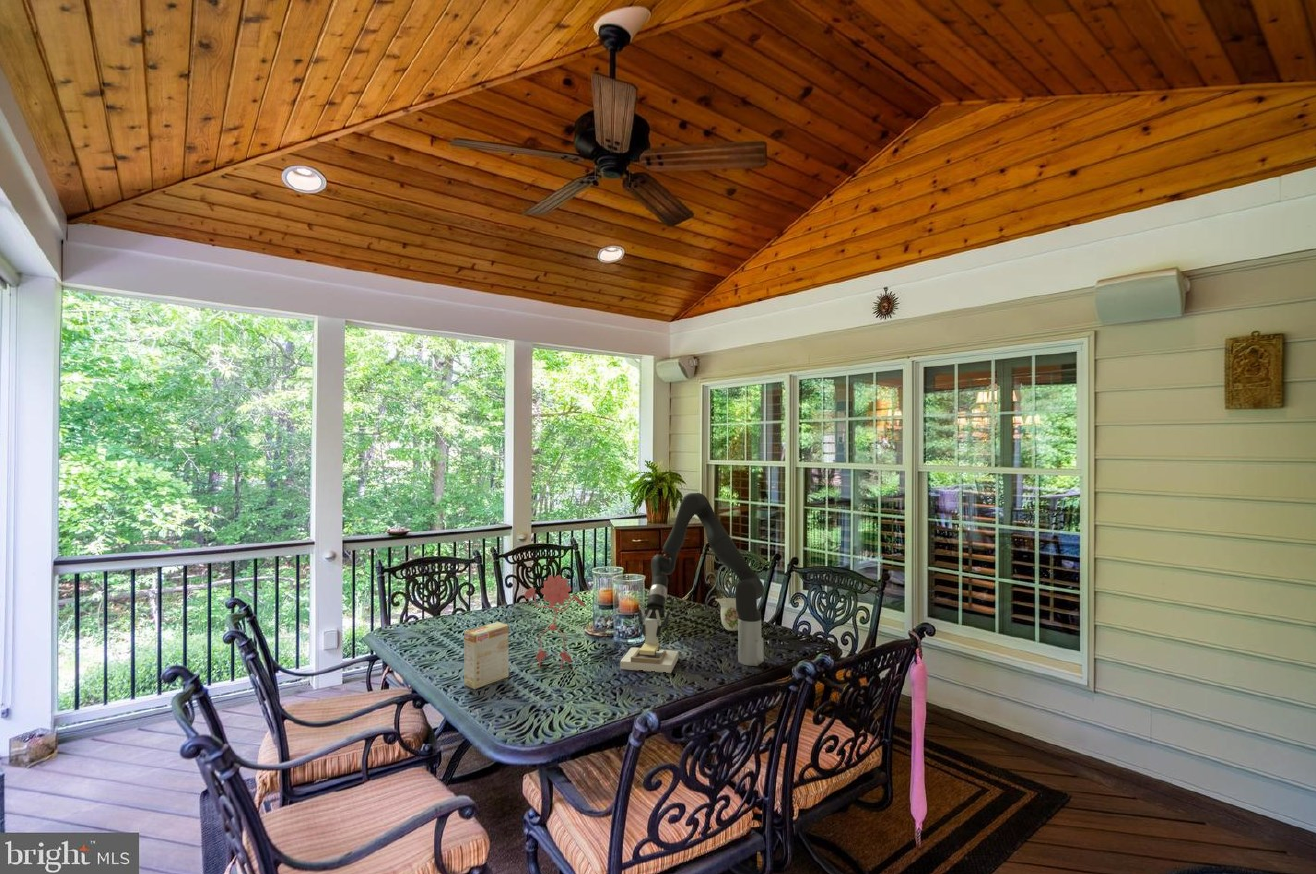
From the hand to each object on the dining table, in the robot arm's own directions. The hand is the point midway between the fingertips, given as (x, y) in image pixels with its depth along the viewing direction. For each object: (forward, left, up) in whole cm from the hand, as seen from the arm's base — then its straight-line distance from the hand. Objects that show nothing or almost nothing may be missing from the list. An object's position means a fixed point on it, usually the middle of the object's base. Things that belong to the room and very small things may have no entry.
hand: (650, 635), depth 233 cm
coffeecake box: (+40, +49, -11) cm, 64 cm away
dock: (0, +1, -11) cm, 11 cm away
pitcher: (-7, -58, -11) cm, 60 cm away
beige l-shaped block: (-1, +2, -6) cm, 7 cm away
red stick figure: (+32, +21, -11) cm, 40 cm away
